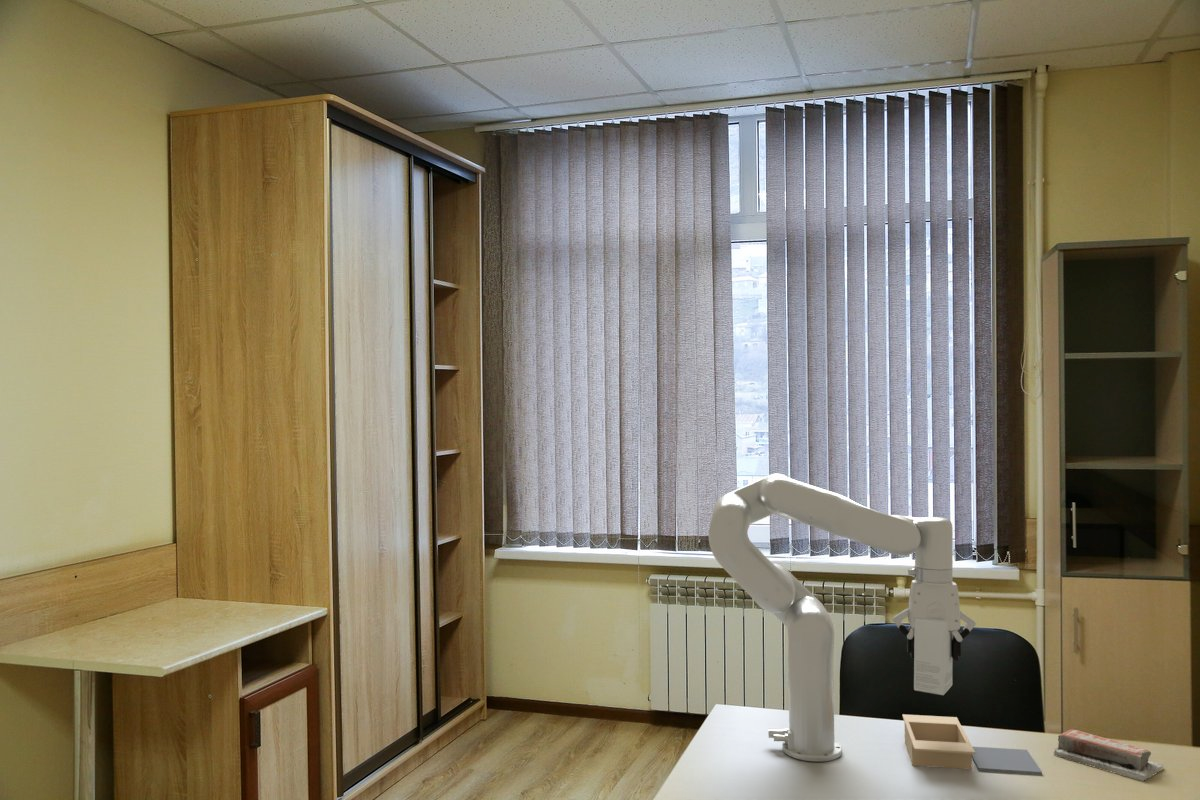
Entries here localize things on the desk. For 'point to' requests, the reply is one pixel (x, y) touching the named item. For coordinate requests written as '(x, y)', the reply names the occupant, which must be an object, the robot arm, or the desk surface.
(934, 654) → the skincare box
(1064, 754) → the packaged product
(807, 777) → the desk surface
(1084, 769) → the desk surface
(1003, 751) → the mat
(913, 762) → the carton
